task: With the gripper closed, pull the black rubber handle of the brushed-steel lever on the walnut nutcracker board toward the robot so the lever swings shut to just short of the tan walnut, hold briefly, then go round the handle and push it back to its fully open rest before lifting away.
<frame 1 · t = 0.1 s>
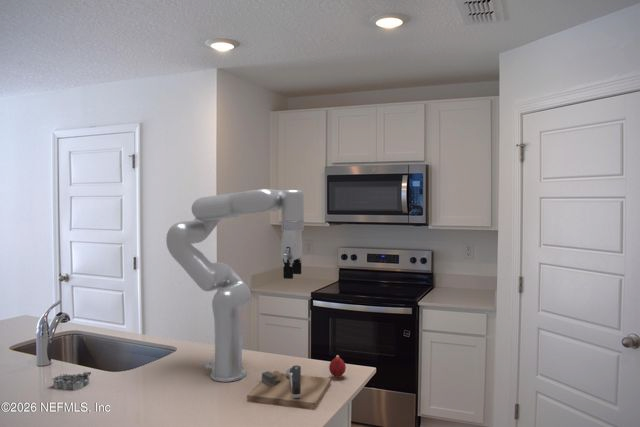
hand: (292, 276, 159), 37 cm above the counter, tool pointing down, fingers open, 9 cm apart
onion: (337, 378, 164), on the counter
cracker board: (290, 392, 152), on the counter
lever: (294, 371, 152), point 7 cm above the counter, hinge at -18.0°
egg carton: (71, 386, 157), on the counter
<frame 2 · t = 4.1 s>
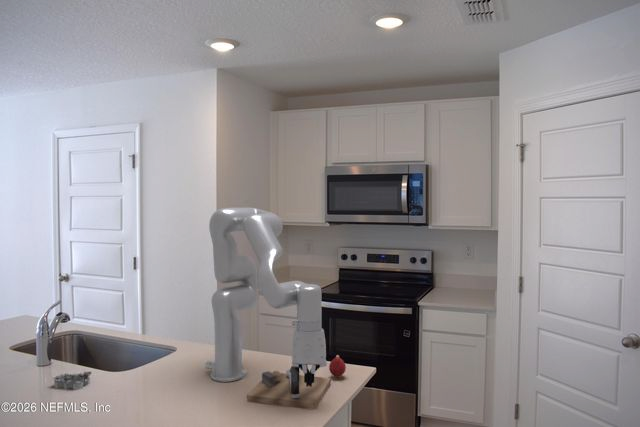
hand: (309, 384, 142), 6 cm above the counter, tool pointing down, fingers closed
lever: (293, 371, 152), point 7 cm above the counter, hinge at -19.3°, touching gripper
everything else where it was.
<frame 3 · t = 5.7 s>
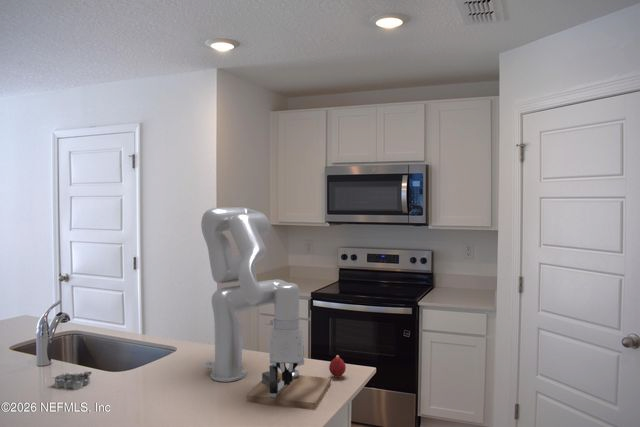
hand: (287, 383, 143), 6 cm above the counter, tool pointing down, fingers closed
lever: (284, 370, 152), point 7 cm above the counter, hinge at -42.0°, touching gripper
everything else where it was.
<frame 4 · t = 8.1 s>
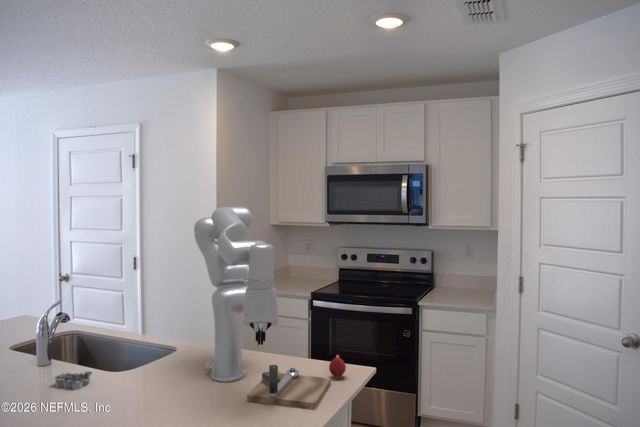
hand: (260, 343, 143), 19 cm above the counter, tool pointing down, fingers closed
lever: (284, 370, 152), point 7 cm above the counter, hinge at -42.2°
everything else where it was.
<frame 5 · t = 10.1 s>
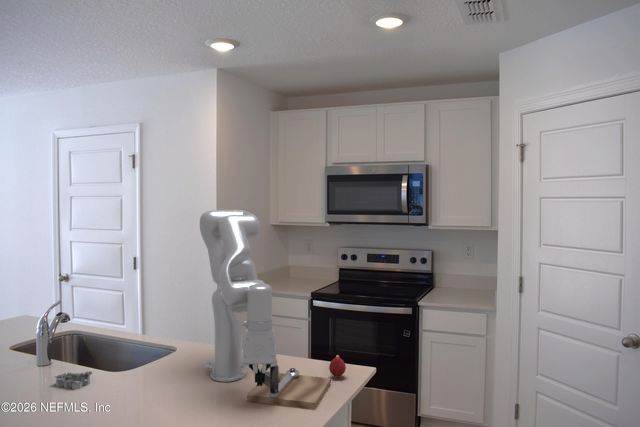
hand: (259, 384, 143), 6 cm above the counter, tool pointing down, fingers closed
lever: (284, 370, 152), point 7 cm above the counter, hinge at -41.3°, touching gripper
everything else where it was.
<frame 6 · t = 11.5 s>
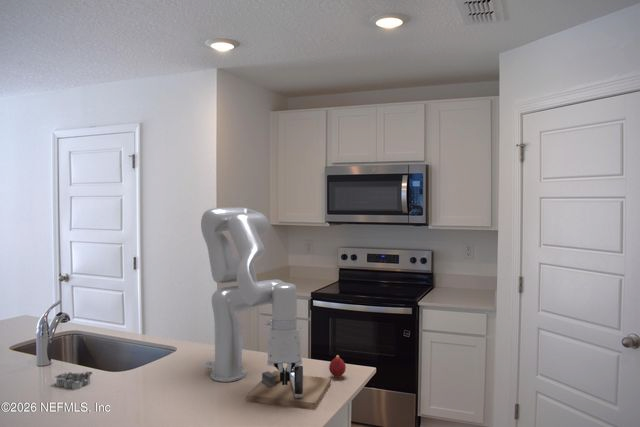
hand: (284, 383, 143), 6 cm above the counter, tool pointing down, fingers closed
lever: (295, 371, 152), point 7 cm above the counter, hinge at -15.6°, touching gripper
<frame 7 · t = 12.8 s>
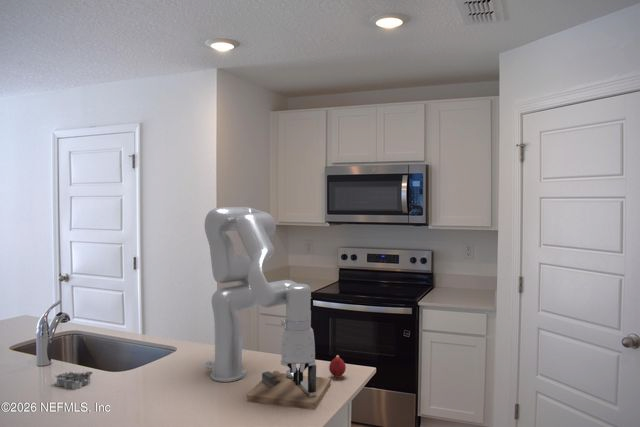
hand: (298, 383, 143), 6 cm above the counter, tool pointing down, fingers closed
lever: (301, 370, 152), point 7 cm above the counter, hinge at -1.2°, touching gripper
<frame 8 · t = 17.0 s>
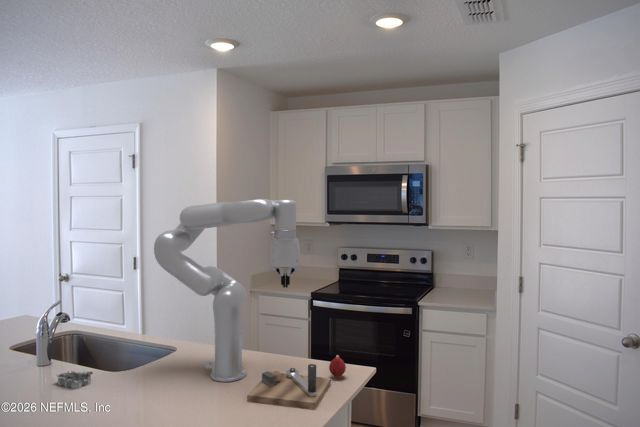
hand: (285, 286, 164), 32 cm above the counter, tool pointing down, fingers closed
lever: (301, 370, 152), point 7 cm above the counter, hinge at -1.2°
at the end: lever at -1° (first picture: -18°) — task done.
